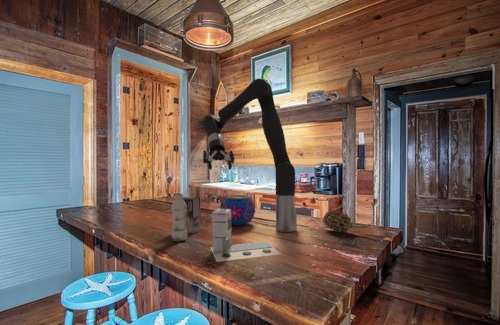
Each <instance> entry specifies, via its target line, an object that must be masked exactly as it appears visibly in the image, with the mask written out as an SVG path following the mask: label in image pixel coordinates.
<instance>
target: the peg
mask: <svg viewBox="0 0 500 325" xmlns="http://www.w3.org/2000/svg"><path fill="white" fill-rule="evenodd" d="M222 256H223V257H229V256H230V238H223V239H222Z"/></svg>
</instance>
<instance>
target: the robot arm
mask: <svg viewBox="0 0 500 325" xmlns="http://www.w3.org/2000/svg"><path fill="white" fill-rule="evenodd" d="M256 99H257V101H258V104H259V106H260V109H261V111H260V112H261V124H262V129H263V134H264V136H265V140H266V142H267V145H268V148H269V149H270V151H271V155H272V157H273V162H274V168H275V230H276V231H277V232H280V233H292V232H295V231H297V230H298V228H297V226H298V224H297V223H298V222H297V218H298V217H297V213H298V212H297V210H296V200H295V199H296V197H295V196H296V192H295V191H296V169H295V166H294V165H293V164H292V162H291V160H290V156H289V154H288V152H287V146H286V138H285V132H284V129H283V125H282V122H281V120H280V116H279V113H278V111H277V109H276V105H275V101H274V100H275V99H274V95H273V89H272V86H271V84H270V83H269V81H267V80H265V79H264V78H262V77H261V78H255V79H254V80H253V81H251V83H250V84H248V86H246V88H245V89H243V91H241V92H240V94H238V95H237V96H236V97H235V98H234V99H233V100H231V101H230V102H229V103H228V104H226V105H225V106H223V107H222V108H221V109H220V110H218V112H217V115H218V117H219V119H218V118H216V117H215V116H214V115H213V114H207V115H205V116H204V117H203V119H202V125H203V128H204V130H205V132H206V134H207V145H208V150H209V151H207V150H203V151H202V152H203V153H202V157H203V158H202V160H203V162H202V163H203V164H207V168H208V169H209V171H210V170H211V171H212V170H213V169H212V168H213V165H212V163H213V162H214V161H223V163H226V164H227V168H228V170H231V169H232V167H233V164H234V163H235V159H236V158H235V156H234V152H233V151H232V150H229V151H227V150H226V146H225V143H224V142H225V141H224V138H223V135H222V129H223V128H224V127H225V126H226V124H227V123H228V122H229V121H230V120H232V119H233V118H235V117H236V116H237V115H239V113H240V112H241V111H242V110H244V108H245V107H246V105H248V104H250V102H252V101H254V100H256ZM208 156H209V157H208ZM207 157H208V158H207Z"/></svg>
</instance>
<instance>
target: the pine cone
mask: <svg viewBox="0 0 500 325" xmlns="http://www.w3.org/2000/svg"><path fill="white" fill-rule="evenodd" d="M322 218H323V221H322V222H323V223H324V225H325V226H326V227H328V228H329V230H332V231H335V232H340V233H342V232H343V233H345V234H346V233H347V232H348V231H349V230H351V229H367V228H368V229H369V228H370V227H371V223H367V224H358V225H357V224H354V223H352V218H351V216H348V214H347V213H344V212H341V211H340V210H333V209H332V210H329V211H326V213H324V215H323V217H322Z"/></svg>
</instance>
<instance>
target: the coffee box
mask: <svg viewBox="0 0 500 325" xmlns="http://www.w3.org/2000/svg"><path fill="white" fill-rule="evenodd" d="M183 200H184V201H185V203H186V205H187V211H186V229H187V234H195V233H198V232H200V231H201V198H200V197H191V196H190V197H189V196H184V198H183Z"/></svg>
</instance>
